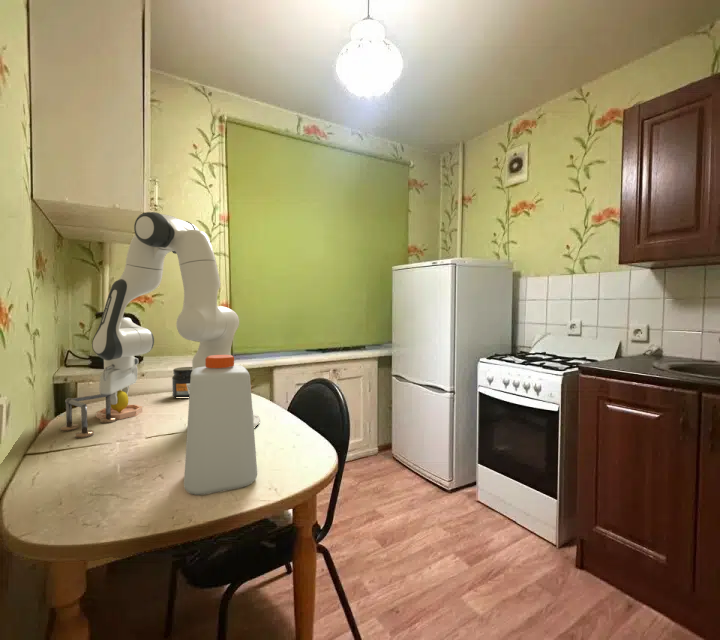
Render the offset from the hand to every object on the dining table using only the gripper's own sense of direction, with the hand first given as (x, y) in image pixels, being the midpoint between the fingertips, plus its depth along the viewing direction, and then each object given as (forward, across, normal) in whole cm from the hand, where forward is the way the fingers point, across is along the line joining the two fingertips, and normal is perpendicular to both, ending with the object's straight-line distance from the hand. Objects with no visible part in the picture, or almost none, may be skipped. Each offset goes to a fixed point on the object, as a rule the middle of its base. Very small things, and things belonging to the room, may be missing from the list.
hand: (119, 401), depth 133 cm
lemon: (+4, 0, 0) cm, 4 cm away
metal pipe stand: (+5, -15, +3) cm, 16 cm away
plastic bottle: (+5, -56, -46) cm, 73 cm away
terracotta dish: (+5, 0, 0) cm, 5 cm away
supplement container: (+5, +25, -15) cm, 30 cm away
